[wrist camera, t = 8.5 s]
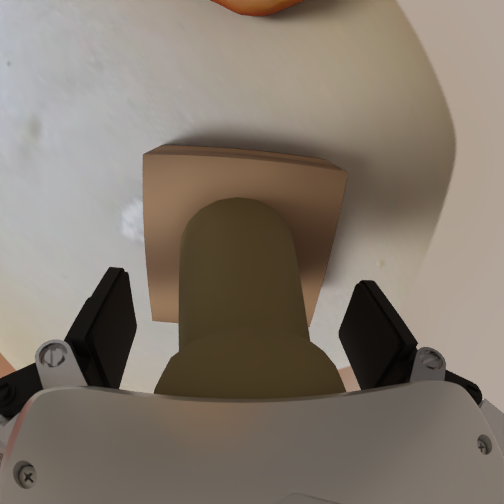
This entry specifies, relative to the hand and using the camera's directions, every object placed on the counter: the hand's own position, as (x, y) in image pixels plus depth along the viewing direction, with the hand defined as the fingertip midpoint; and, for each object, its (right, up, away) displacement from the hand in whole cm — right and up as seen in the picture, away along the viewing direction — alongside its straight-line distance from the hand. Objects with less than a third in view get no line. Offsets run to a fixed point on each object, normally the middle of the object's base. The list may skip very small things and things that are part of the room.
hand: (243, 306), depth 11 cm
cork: (0, +2, +4) cm, 5 cm away
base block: (-1, +4, +7) cm, 8 cm away
